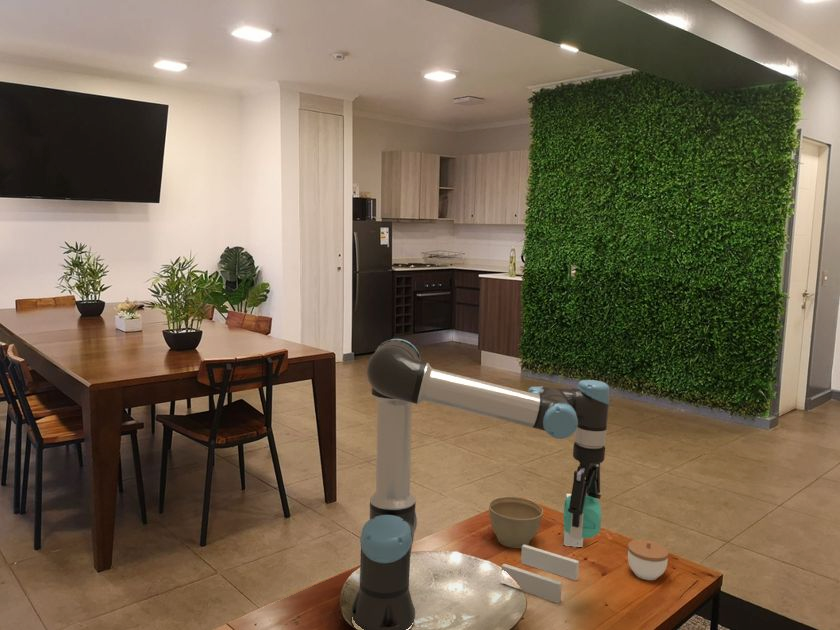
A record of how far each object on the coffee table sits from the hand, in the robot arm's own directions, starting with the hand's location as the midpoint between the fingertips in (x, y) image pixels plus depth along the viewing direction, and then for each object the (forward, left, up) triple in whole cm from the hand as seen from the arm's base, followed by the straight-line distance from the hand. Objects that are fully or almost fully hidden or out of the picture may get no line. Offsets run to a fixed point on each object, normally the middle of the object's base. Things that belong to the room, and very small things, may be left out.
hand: (582, 530), depth 162 cm
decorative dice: (0, 0, 0) cm, 1 cm away
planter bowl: (-27, +22, -20) cm, 40 cm away
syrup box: (-12, +32, -20) cm, 39 cm away
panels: (-12, +5, -20) cm, 23 cm away
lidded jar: (+11, +26, -20) cm, 35 cm away
